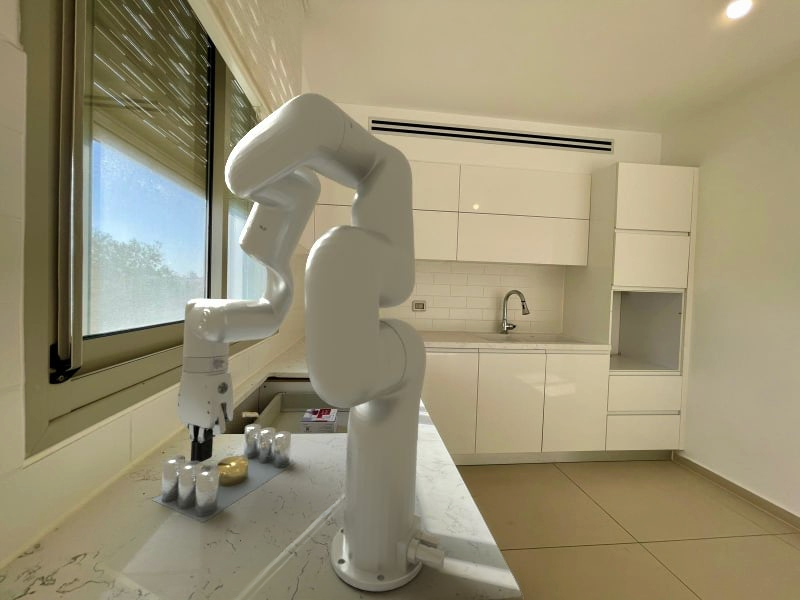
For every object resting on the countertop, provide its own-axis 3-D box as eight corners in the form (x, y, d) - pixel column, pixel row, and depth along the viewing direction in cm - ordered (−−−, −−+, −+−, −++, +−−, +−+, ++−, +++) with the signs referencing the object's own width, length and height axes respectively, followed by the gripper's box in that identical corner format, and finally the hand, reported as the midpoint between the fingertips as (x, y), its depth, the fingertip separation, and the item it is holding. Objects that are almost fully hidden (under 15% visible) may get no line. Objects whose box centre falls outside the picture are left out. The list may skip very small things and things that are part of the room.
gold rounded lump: (253, 475, 61) (254, 459, 61) (230, 489, 56) (231, 472, 56) (234, 469, 63) (235, 453, 63) (210, 482, 58) (210, 465, 58)
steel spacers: (292, 462, 66) (294, 432, 66) (204, 519, 49) (205, 478, 49) (252, 451, 70) (253, 422, 70) (157, 498, 53) (158, 461, 53)
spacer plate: (296, 465, 66) (296, 462, 66) (203, 526, 48) (203, 522, 48) (252, 452, 71) (252, 449, 71) (151, 503, 53) (151, 499, 53)
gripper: (251, 365, 63) (246, 460, 63) (198, 356, 69) (194, 443, 69) (215, 372, 56) (210, 479, 56) (160, 362, 62) (155, 458, 62)
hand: (201, 459), depth 63 cm, fingers closed
